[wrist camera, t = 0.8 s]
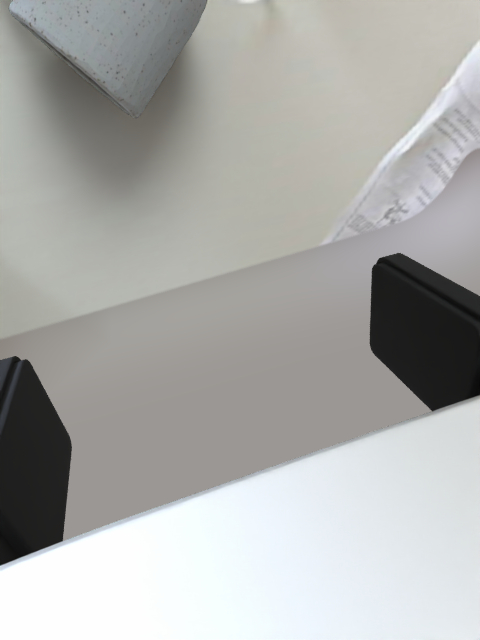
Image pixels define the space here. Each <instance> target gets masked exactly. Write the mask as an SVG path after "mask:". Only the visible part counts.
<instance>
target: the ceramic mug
mask: <svg viewBox="0 0 480 640" xmlns="http://www.w3.org/2000/svg"><path fill="white" fill-rule="evenodd" d="M206 3H207V0H12V2H11V4H10V6H9V11H10V13H11V15H12V16H13V17H15V18H16V19H17V20H18V21H19V22H20V23H21V24H22V25H23V26H24V27H26V28H27V29H28V30H29V31H30V32H31V33H32V34H33V35H34V36H36V37H37V38H38V39H39V40H40V41H41V42H42V43H44V44H45V45H46V46H47V47H48V48H49V49H50V50H51V51H53V52H54V53H55V54H56V55H57V56H58V57H60V58H61V59H62V60H63V61H65V62H66V63H67V64H68V65H69V66H70V67H71V68H72V69H73V70H74V71H76V72H77V73H78V74H79V75H80V76H82V77H83V78H84V79H85V80H86V81H88V82H89V83H90V84H91V85H92V86H93V87H95V88H96V89H97V90H98V91H99V92H101V93H102V94H103V95H104V96H106V97H107V98H108V99H109V100H110V101H112V102H113V103H114V104H115V105H117V106H118V107H119V108H120V109H121V110H123V111H124V112H126V113H127V114H128V115H130V116H131V117H133V118H138V117H139V116H140V115H141V113H142V112H143V110H144V109H145V107H146V105H147V104H148V102H149V100H150V99H151V97H152V96H153V94H154V93H155V91H156V90H157V88H158V87H159V85H160V83H161V82H162V80H163V79H164V77H165V76H166V74H167V73H168V71H169V69H170V68H171V66H172V64H173V63H174V61H175V59H176V58H177V56H178V54H179V53H180V51H181V50H182V48H183V47H184V45H185V44H186V42H187V41H188V40H189V38H190V37H191V35H192V33H193V32H194V30H195V28H196V26H197V25H198V23H199V20H200V18H201V15H202V13H203V11H204V9H205V6H206Z"/></svg>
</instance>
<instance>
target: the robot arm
mask: <svg viewBox="0 0 480 640" xmlns="http://www.w3.org/2000/svg"><path fill="white" fill-rule="evenodd" d="M370 319H371V320H370V346H371V350H372V351H373V353H374V354H375V356H376V357H377V358H378V359H380V360H381V361H382V362H383V363H384V364H385V365H386V366H387V367H388V368H389V369H390V370H391V371H392V372H393V373H394V374H395V375H396V376H397V377H398V378H399V379H400V380H401V381H402V382H403V383H404V384H405V385H406V386H407V387H408V388H409V389H410V390H411V391H412V392H413V393H414V394H415V395H416V396H417V397H418V398H419V399H420V400H421V401H423V403H424V404H426V405H427V406H428V407H429V408H430V409H431V410H432V412H429V413H426V414H423V415H420V416H417V417H414V418H411V419H408V420H405V421H403V422H399V423H397V424H394V425H391V426H388V427H385V428H382V429H379V430H376V431H373V432H370V433H367V434H364V435H362V436H359V437H356V438H353V439H350V440H347V441H344V442H341V443H338V444H336V445H333V446H330V447H327V448H324V449H321V450H318V451H315V452H312V453H310V454H307V455H304V456H301V457H298V458H295V459H292V460H289V461H287V462H284V463H281V464H278V465H275V466H272V467H270V468H267V469H264V470H261V471H258V472H255V473H252V474H249V475H246V476H244V477H241V478H238V479H235V480H232V481H229V482H227V483H224V484H221V485H218V486H215V487H212V488H210V489H207V490H204V491H201V492H198V493H196V494H193V495H190V496H187V497H184V498H182V499H179V500H176V501H173V502H170V503H167V504H165V505H162V506H159V507H156V508H153V509H151V510H148V511H145V512H142V513H139V514H136V515H134V516H131V517H128V518H125V519H122V520H120V521H117V522H114V523H111V524H108V525H106V526H103V527H100V528H97V529H95V530H92V531H89V532H86V533H84V534H81V535H78V536H75V537H73V538H70V539H67V540H65V541H63V532H64V521H65V511H66V501H67V492H68V481H69V471H70V461H71V451H72V446H71V440H70V437H69V435H68V433H67V431H66V429H65V427H64V425H63V423H62V422H61V420H60V418H59V416H58V414H57V412H56V410H55V408H54V406H53V404H52V403H51V401H50V399H49V397H48V395H47V393H46V391H45V389H44V388H43V386H42V384H41V382H40V380H39V378H38V376H37V374H36V373H35V371H34V369H33V367H32V365H31V363H30V362H29V361H28V360H26V359H25V360H22V361H21V360H20V359H19V358H18V357H16V356H14V357H11V358H7V359H3V360H0V640H480V296H478V295H477V294H475V293H473V292H471V291H469V290H467V289H466V288H464V287H462V286H460V285H458V284H456V283H455V282H453V281H451V280H449V279H447V278H445V277H444V276H442V275H440V274H438V273H436V272H434V271H433V270H431V269H429V268H427V267H425V266H423V265H421V264H420V263H418V262H416V261H414V260H412V259H411V258H409V257H407V256H405V255H403V254H401V253H397V254H393V255H389V256H386V257H382V258H379V260H378V261H377V263H376V264H375V265H374V266H373V268H372V286H371V318H370Z"/></svg>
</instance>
